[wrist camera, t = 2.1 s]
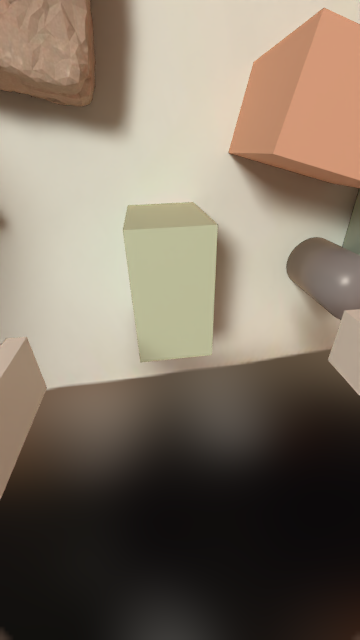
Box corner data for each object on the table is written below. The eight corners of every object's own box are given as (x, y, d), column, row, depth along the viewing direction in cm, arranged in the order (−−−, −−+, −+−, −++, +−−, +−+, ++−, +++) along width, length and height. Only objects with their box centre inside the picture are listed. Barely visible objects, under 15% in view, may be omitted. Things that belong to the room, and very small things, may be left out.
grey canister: (282, 285, 23) (322, 322, 18) (291, 238, 21) (339, 266, 16) (326, 282, 24) (377, 317, 19) (339, 235, 22) (400, 261, 17)
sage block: (139, 307, 23) (140, 362, 17) (127, 205, 19) (122, 230, 13) (193, 303, 23) (211, 354, 17) (193, 202, 19) (217, 224, 13)
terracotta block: (331, 183, 19) (415, 197, 14) (228, 152, 18) (273, 153, 12) (367, 106, 17) (485, 83, 11) (253, 62, 15) (324, 7, 10)
